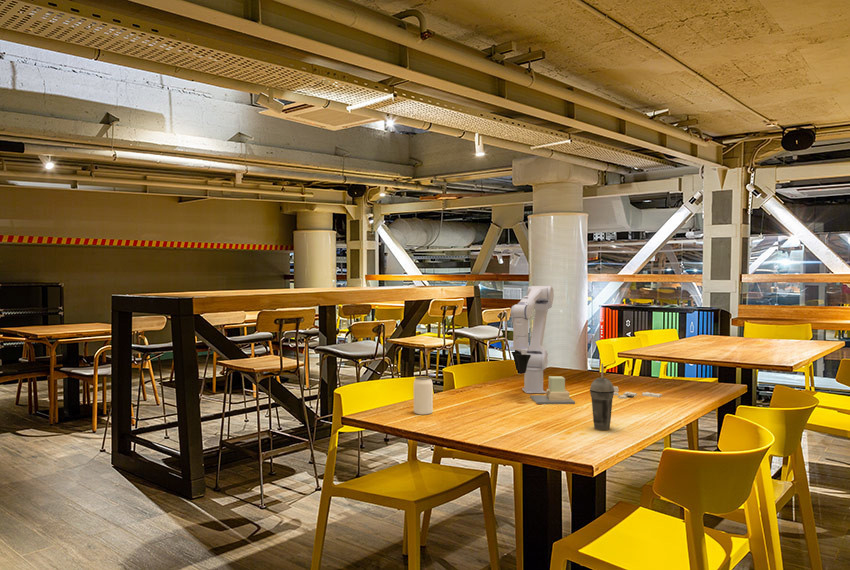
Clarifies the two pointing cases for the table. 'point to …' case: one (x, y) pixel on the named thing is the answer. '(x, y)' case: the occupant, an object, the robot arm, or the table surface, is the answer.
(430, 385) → the can
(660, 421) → the table surface
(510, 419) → the table surface
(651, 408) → the table surface
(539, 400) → the gray board
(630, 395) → the architectural model
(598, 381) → the beverage cup
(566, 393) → the birch plinth
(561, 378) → the sage block
